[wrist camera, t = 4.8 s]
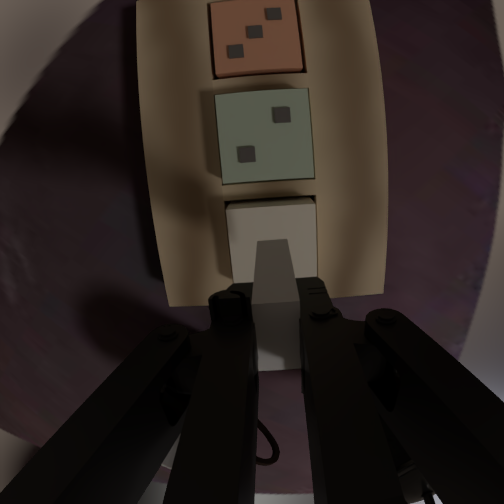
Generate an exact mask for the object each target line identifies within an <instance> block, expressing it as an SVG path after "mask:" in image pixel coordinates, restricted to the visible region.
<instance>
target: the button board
mask: <svg viewBox="0 0 504 504" xmlns="http://www.w3.org/2000/svg"><path fill="white" fill-rule="evenodd" d="M225 1H233V0H139V1H136V34H137V66H138V85H139V100H140V113H141V125H142V136H143V145H144V155H145V163H146V172H147V180H148V187H149V194H150V201H151V208H152V215H153V221H154V228H155V234H156V240H157V245H158V251H159V257H160V262H161V267H162V273H163V278H164V283H165V288H166V293H167V297H168V302H169V307H171V306H205V305H209V304H208V298H209V297H210V296H211V295H212V294H214V293H216V292H219V291H222V290H226V289H227V288H228V287H229V286H230V285H231V284H233V283H234V280H233V272H232V263H231V254H230V245H229V236H228V226H227V217H226V209H227V207H228V205H229V204H230V202H229V201H230V200H242V199H255V198H270V197H285V196H302V195H310V196H311V199H312V200H313V202H314V203H315V209H316V242H317V277H318V278H320V279H321V280H323V281H324V284H325V286H326V289H327V291H328V294H329V297H330V298H338V297H350V296H360V295H371V294H381V293H383V290H384V278H385V265H386V249H387V226H388V158H387V135H386V119H385V106H384V95H383V86H382V77H381V69H380V61H379V54H378V47H377V41H376V34H375V29H374V23H373V18H372V12H371V7H370V3H369V0H294V3H295V10H296V17H297V24H298V32H299V40H300V48H301V56H302V65H303V68H302V70H301V73H294V74H272V75H258V76H246V77H235V78H226V79H218V77H217V75H216V71H215V58H214V45H213V32H212V18H211V4H210V3H217V2H225ZM303 88H307V89H308V99H309V110H310V123H311V136H312V150H313V166H314V178H294V179H278V180H263V181H250V182H237V183H226V184H223V178H222V168H221V157H220V147H219V136H218V125H217V114H216V102H215V95H221V94H229V93H239V92H250V91H262V90H278V89H303Z"/></svg>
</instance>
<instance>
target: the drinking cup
mask: <svg viewBox="0 0 504 504" xmlns="http://www.w3.org/2000/svg"><path fill="white" fill-rule="evenodd" d="M378 414H379V413H378ZM379 417H380V420H381V423H382V426H383V430H384V433H385V436H386V439H387V442H388V445H389V448H390V451H391V455H392V458H393V461H394V464H395V468H396V471H397V474H398V478H399V481H400V485H401V488H402V492H403V495H404V498H405V500H406V502H407V503H408V504H410V503H414V502H418V501H421V500H424V502H425V504H435V501H434V498H433V495H434V494H436V493H435V492H434V490H433V489H432V487H431V486H430V485H429V483H428V482H427V480H426V479H425V477H424V476H423V475H422V473H421V472H420V470H419V469H418V467H417V466H416V465H415V463H414V462H413V460H412V459H411V458H410V456H409V455H408V453H407V452H406V451H405V449H404V448H403V446H402V445H401V443H400V442H399V441H398V439H397V438H396V436H395V435H394V434H393V432H392V431H391V429H390V428H389V427H388V425H387V424H386V422H385V421H384V420H383V418H382V417H381V415H380V414H379Z"/></svg>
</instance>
